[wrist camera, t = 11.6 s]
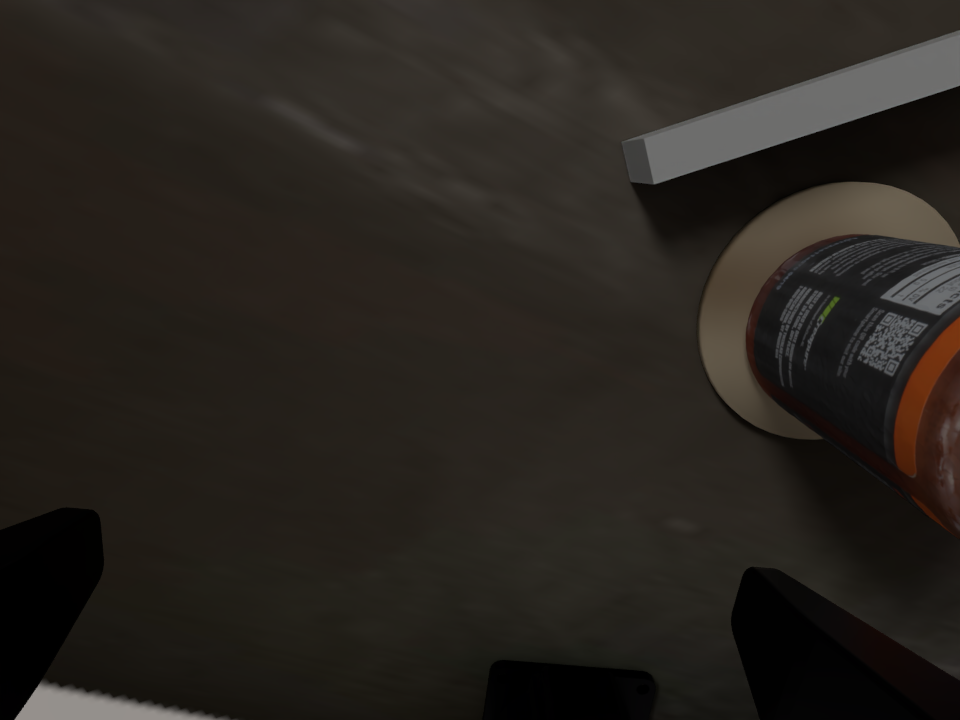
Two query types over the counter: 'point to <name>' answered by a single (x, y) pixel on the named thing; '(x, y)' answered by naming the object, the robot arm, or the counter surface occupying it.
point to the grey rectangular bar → (795, 111)
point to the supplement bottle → (870, 358)
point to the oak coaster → (765, 251)
